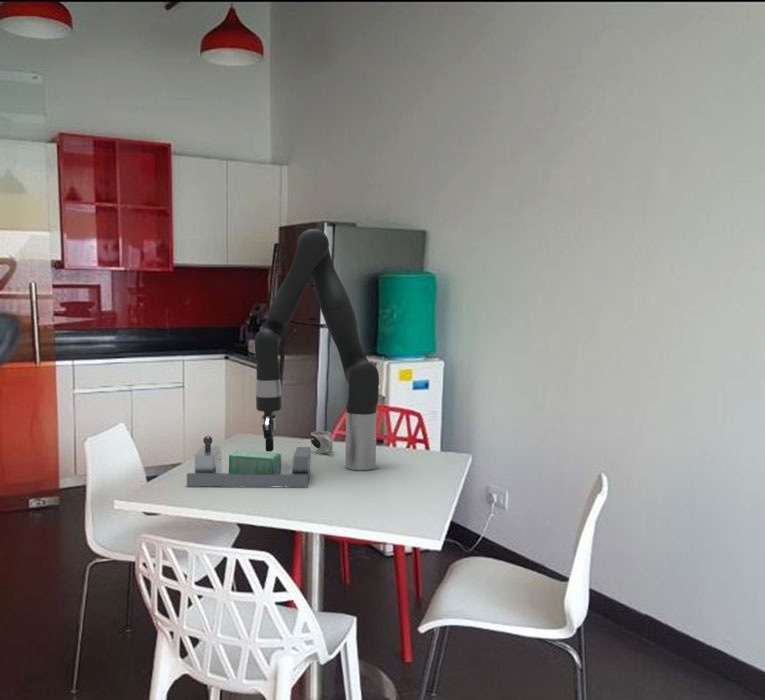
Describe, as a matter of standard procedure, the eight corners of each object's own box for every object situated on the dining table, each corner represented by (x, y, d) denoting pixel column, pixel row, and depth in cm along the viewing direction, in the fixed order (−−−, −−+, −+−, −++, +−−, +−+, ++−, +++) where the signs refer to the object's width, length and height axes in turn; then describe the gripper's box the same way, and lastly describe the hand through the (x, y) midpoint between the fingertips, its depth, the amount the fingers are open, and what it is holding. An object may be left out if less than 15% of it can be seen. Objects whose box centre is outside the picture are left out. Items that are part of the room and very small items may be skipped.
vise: (310, 473, 217) (310, 447, 216) (307, 487, 202) (307, 459, 201) (198, 472, 215) (198, 446, 214) (186, 486, 200) (186, 458, 199)
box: (273, 483, 205) (273, 457, 205) (228, 480, 208) (228, 454, 207) (281, 477, 212) (281, 451, 212) (237, 474, 215) (237, 449, 214)
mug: (307, 451, 245) (307, 432, 244) (323, 449, 248) (324, 430, 248) (322, 457, 237) (323, 437, 236) (340, 455, 240) (340, 435, 240)
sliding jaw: (222, 473, 215) (222, 432, 214) (215, 483, 204) (215, 440, 202) (203, 472, 215) (203, 431, 214) (194, 483, 203) (194, 440, 202)
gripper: (278, 397, 213) (279, 456, 214) (283, 390, 226) (284, 445, 227) (253, 397, 212) (254, 456, 214) (259, 391, 225) (260, 446, 227)
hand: (269, 450), depth 221 cm, fingers closed
